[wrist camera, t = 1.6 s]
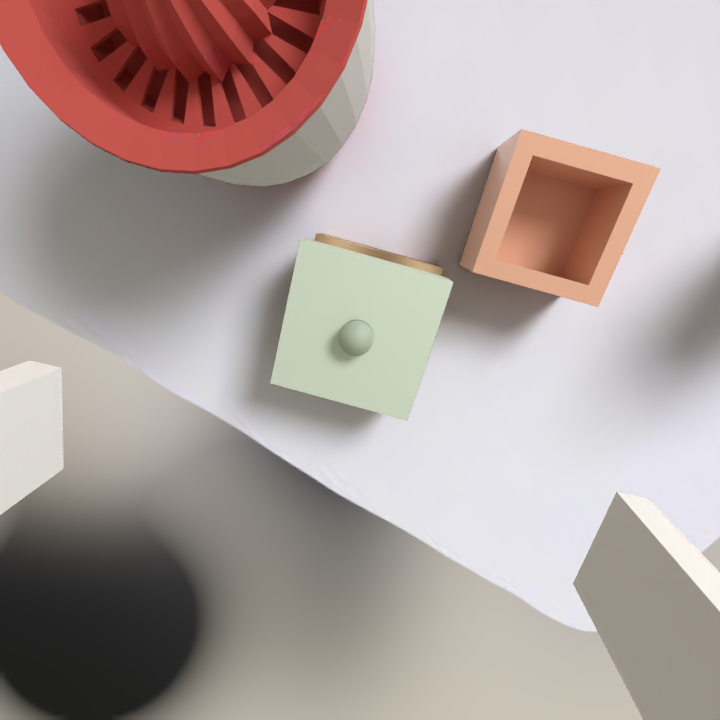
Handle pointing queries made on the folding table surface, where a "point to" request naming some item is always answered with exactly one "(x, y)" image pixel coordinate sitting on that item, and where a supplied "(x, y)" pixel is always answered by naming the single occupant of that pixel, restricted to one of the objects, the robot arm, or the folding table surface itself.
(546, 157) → the open box
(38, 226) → the folding table surface
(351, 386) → the lid
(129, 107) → the citrus juicer
